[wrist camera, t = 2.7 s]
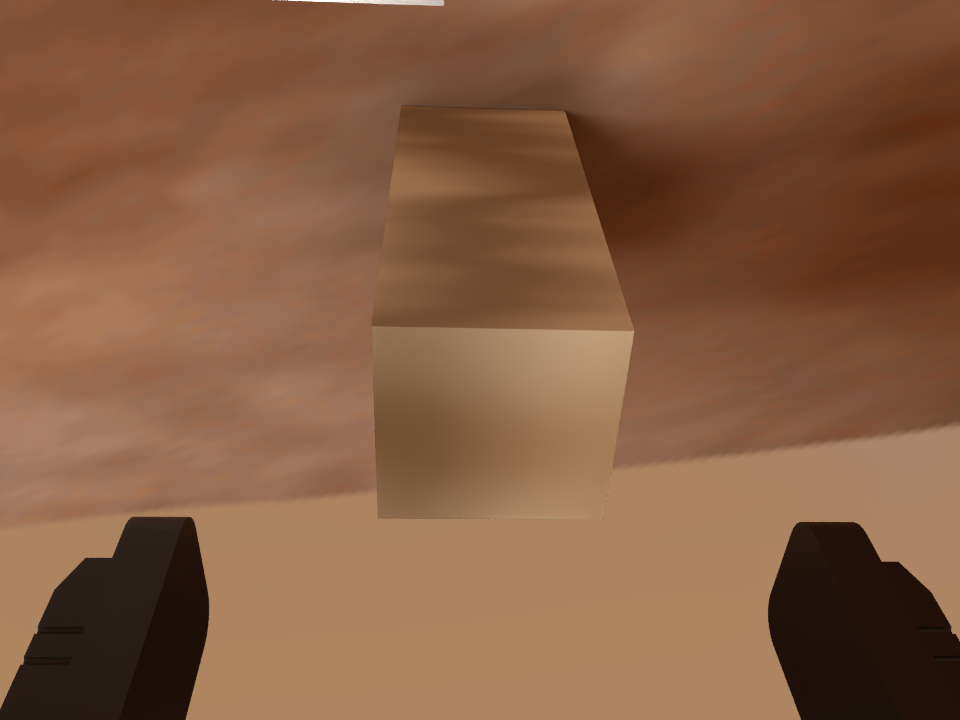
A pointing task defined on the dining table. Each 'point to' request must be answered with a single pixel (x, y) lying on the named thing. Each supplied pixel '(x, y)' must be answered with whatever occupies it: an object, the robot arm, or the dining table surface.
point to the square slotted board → (388, 1)
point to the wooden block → (495, 324)
